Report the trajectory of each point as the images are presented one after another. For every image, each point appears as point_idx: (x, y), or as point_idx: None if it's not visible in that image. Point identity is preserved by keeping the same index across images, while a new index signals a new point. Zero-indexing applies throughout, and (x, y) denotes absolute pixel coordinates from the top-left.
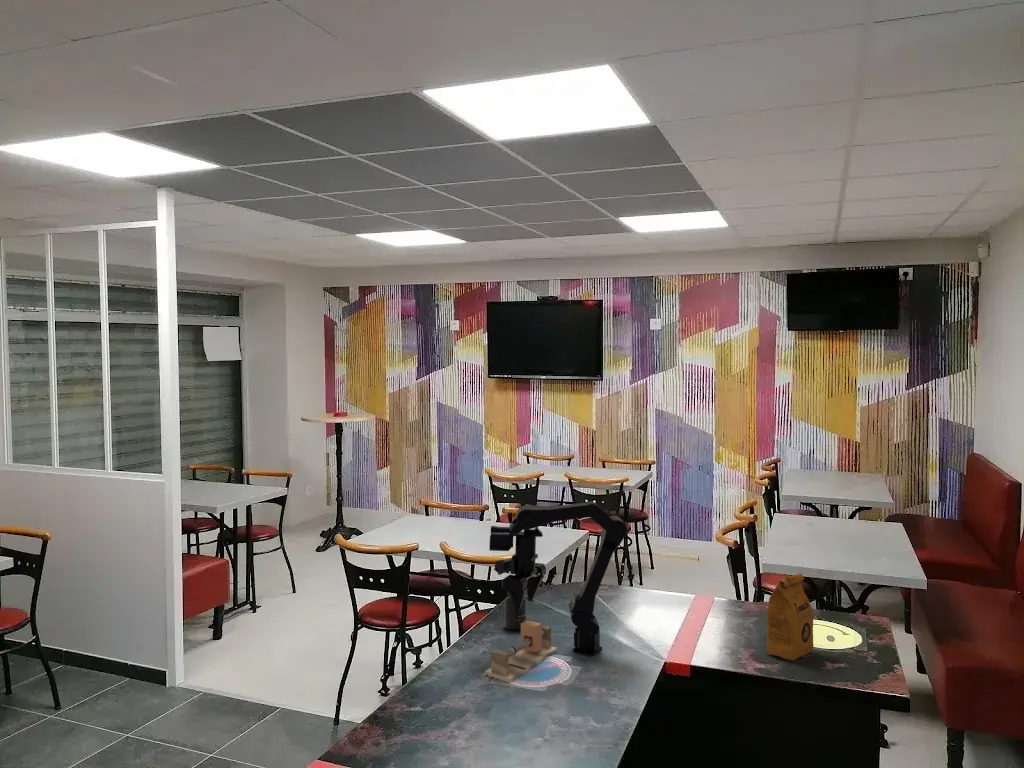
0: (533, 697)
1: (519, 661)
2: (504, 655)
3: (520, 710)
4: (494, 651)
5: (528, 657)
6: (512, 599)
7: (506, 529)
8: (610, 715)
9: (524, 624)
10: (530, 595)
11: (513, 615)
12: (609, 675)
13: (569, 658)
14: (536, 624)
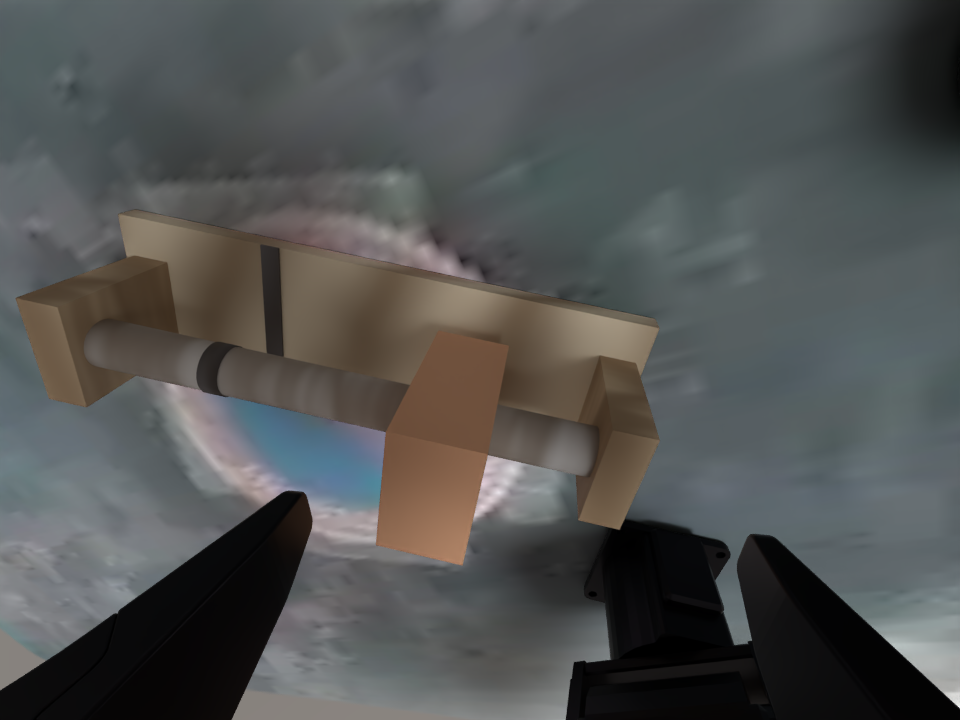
0: (131, 471)
1: (340, 345)
2: (48, 393)
3: (28, 456)
4: (38, 314)
5: (412, 372)
6: (110, 618)
7: None
8: None
9: (383, 462)
10: (777, 639)
11: None
12: (435, 641)
13: (531, 517)
14: (426, 540)
